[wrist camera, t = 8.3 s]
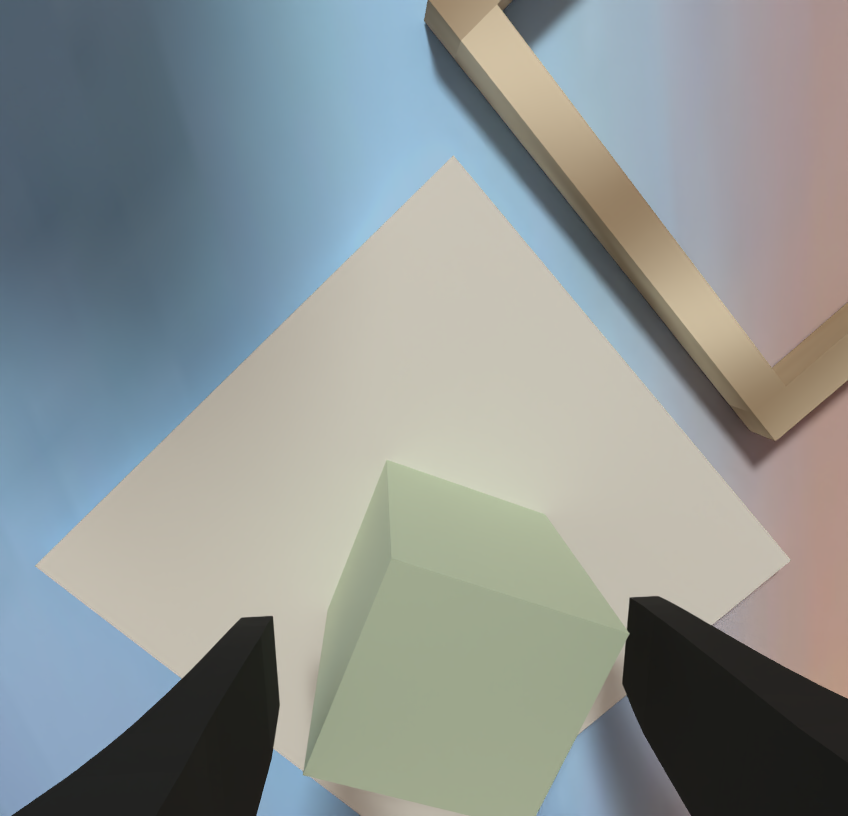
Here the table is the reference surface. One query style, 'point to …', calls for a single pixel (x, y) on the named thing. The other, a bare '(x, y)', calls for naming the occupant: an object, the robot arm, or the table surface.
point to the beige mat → (408, 458)
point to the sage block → (457, 652)
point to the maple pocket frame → (636, 226)
